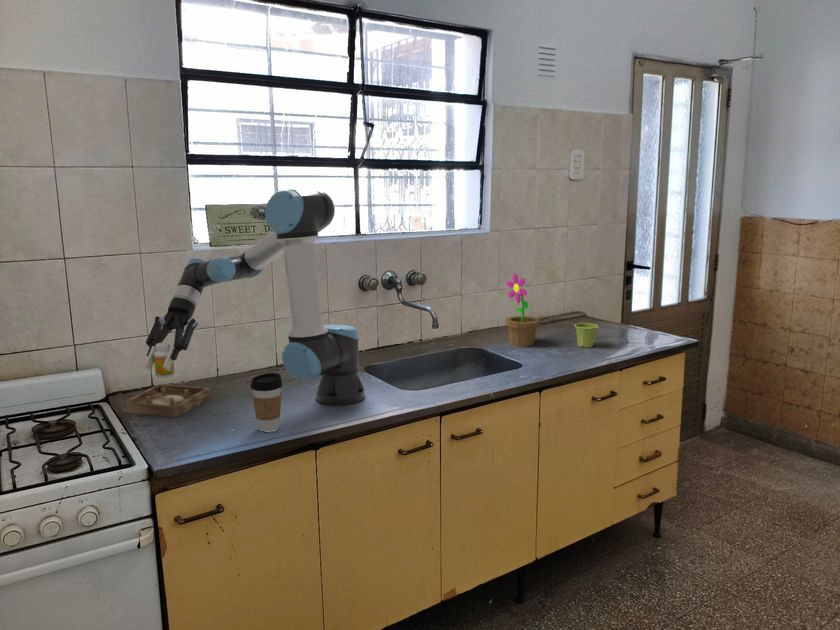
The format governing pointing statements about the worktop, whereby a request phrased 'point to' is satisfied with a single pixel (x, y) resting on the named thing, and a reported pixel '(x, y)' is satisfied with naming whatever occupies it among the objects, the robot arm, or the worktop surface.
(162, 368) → the supplement bottle
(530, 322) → the flowerpot
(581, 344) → the plant pot
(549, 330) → the worktop surface
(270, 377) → the coffee cup
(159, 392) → the pin tray
